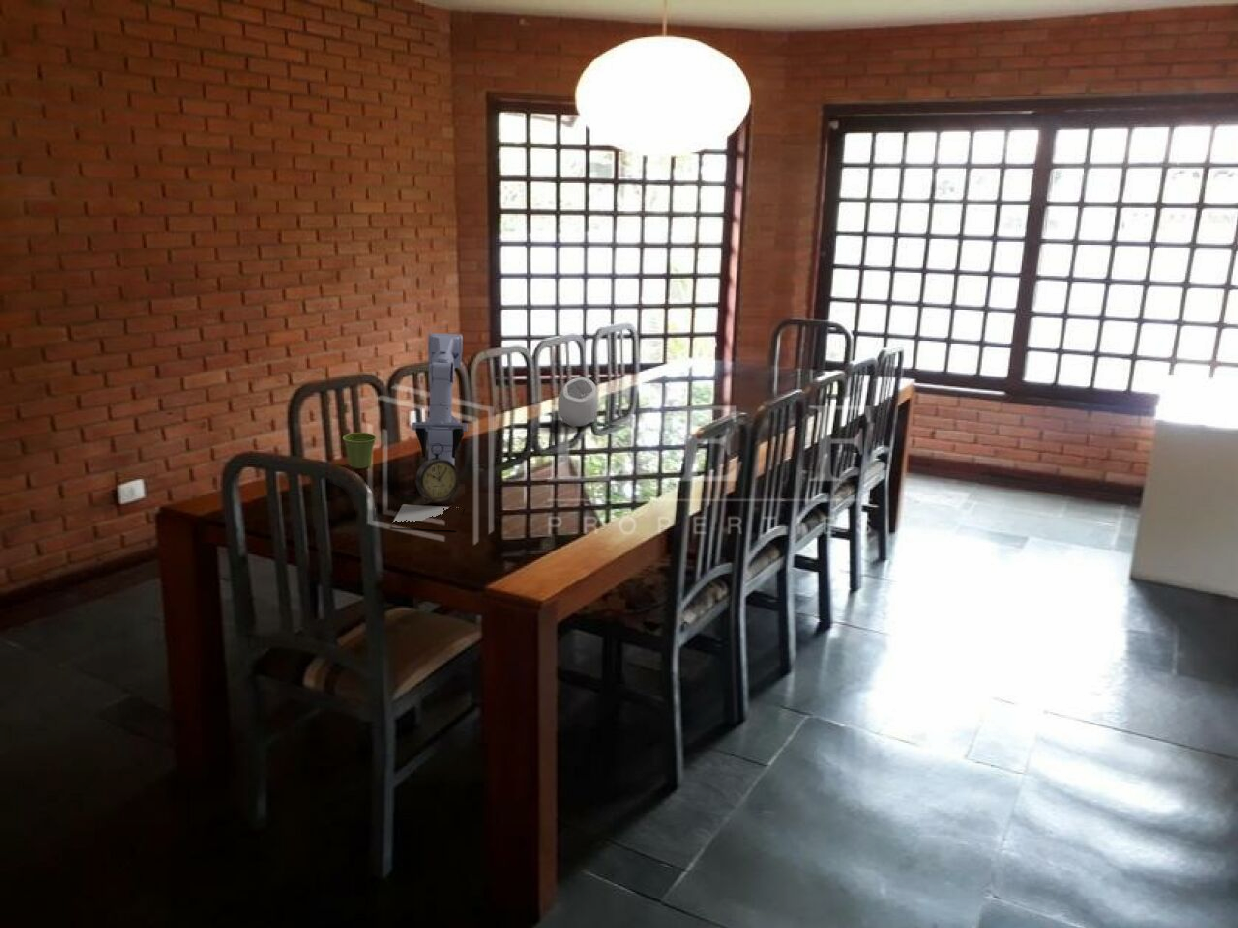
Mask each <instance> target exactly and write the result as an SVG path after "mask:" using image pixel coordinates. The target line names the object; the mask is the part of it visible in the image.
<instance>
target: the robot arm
mask: <svg viewBox="0 0 1238 928" xmlns="http://www.w3.org/2000/svg"><path fill="white" fill-rule="evenodd" d="M427 339H428V341H427V342H428V343H427V344H428V345H427V352H428V361H429V366H428V368H429V369H428V379H429V380H428V381H429V391H430V392H429V416H428V417H427V418H426V420H425V421H420V422H419V421H418V422H411V430H412V431H415V434H416V436H417V439H418V442H419V445H420V449H421V454H422V455H421V456H422V458H423V459H427V457H428V459H427V460H430V459H434V458H435V457H436V456H435V455H434V454H436V453H438V454H439V453H441V451H442V446H443V451H442V453H441V454H439V459H442V460H446V461H449V462H451V463H452V464H453V465H454V466H455V459H456V458H457V457H456V456H457V452H458V448H459V447H460V444H461V442H462V439H463V437H464V435H465V432H468V431H469V424H468V423H467V422H464V423H463V422H460V421H459V419H457V417H455V416H453V415H452V405H453V404H452V403H453V402H452V401H453V385H454V382H455V369H456V368H458V367H460V366H461V364H462V362H463V361H462V360H463V357H462V356H463V346H464V344H463V342H464V339H463V335H462V333H460V334H453V333H452V334H451V333H449V334H448V333H447V334H446V333H433V332H430V333H429V334H428V337H427ZM435 443H441V444H442V446H441V445H440V444H436V445H434V444H435ZM433 445H434V447H433V453H434V454H433V453H432V450H431V448H432V446H433ZM427 450H428V453H427ZM427 454H428V456H427Z"/></svg>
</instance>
